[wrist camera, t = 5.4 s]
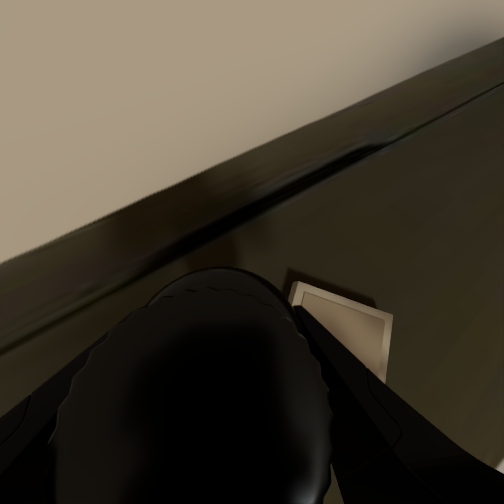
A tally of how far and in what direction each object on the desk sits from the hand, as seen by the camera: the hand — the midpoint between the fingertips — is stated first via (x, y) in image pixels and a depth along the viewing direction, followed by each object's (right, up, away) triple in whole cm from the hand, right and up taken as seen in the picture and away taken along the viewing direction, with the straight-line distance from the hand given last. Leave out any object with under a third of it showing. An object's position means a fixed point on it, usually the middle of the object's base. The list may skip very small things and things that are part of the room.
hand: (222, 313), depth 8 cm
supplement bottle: (-1, -3, +6) cm, 7 cm away
